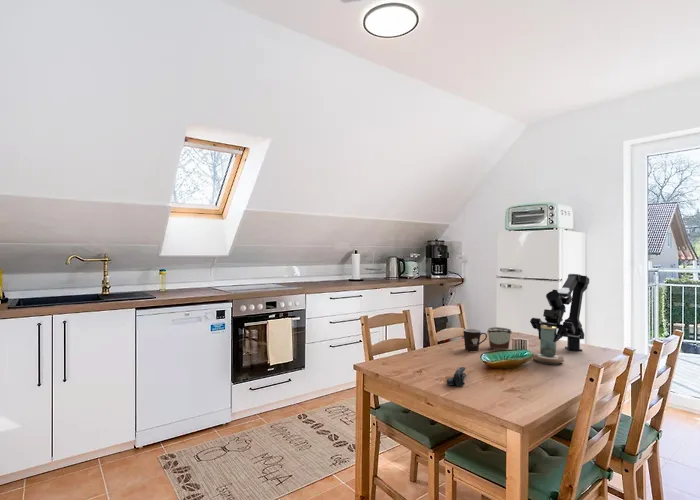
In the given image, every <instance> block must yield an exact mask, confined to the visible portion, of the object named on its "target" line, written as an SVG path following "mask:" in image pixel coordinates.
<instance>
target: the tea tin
mask: <svg viewBox="0 0 700 500" xmlns="http://www.w3.org/2000/svg"><path fill="white" fill-rule="evenodd" d="M540 327H541V336H540V344H539V346H540V347H539V353H540V354H542V355H545V356H556V355H557V342H554V340H555V337H556V334H557V330H558V329H557V327H556V326H553V325H541V326H540Z"/></svg>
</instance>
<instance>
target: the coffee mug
mask: <svg viewBox="0 0 700 500" xmlns="http://www.w3.org/2000/svg"><path fill="white" fill-rule="evenodd" d="M462 332H463V340H464V341H463V342H464V348H465V349H466V350H468V351H467V352H470V351H477V352H479V347H480V345H481V344H482V343H483V342H485V341H486V340H487V338H488V335H487V334H488V333H487V332H482V331H481V330H480V329H476V328H464V329H463V331H462ZM482 335H485V338H484V339H483V340H481V336H482ZM480 340H481V341H480ZM465 349H464V350H465ZM466 350H465V351H466Z"/></svg>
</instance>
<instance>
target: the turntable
mask: <svg viewBox="0 0 700 500" xmlns="http://www.w3.org/2000/svg"><path fill="white" fill-rule="evenodd" d="M533 354H535V356H534V357H533V356H532V359H534V360H535V361H536V360H538V361H541V362H547V363H560V364H561V363H564V360H565V357H563V356H561V355H559V354H556V356H545V355H542V354H540V352H535V353H533Z"/></svg>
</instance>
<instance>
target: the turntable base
mask: <svg viewBox="0 0 700 500" xmlns="http://www.w3.org/2000/svg"><path fill="white" fill-rule="evenodd" d="M535 361H536V362H538V363H540V364H545V365H559V364H561V363H547V362H541V361H538V360H535Z"/></svg>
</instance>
